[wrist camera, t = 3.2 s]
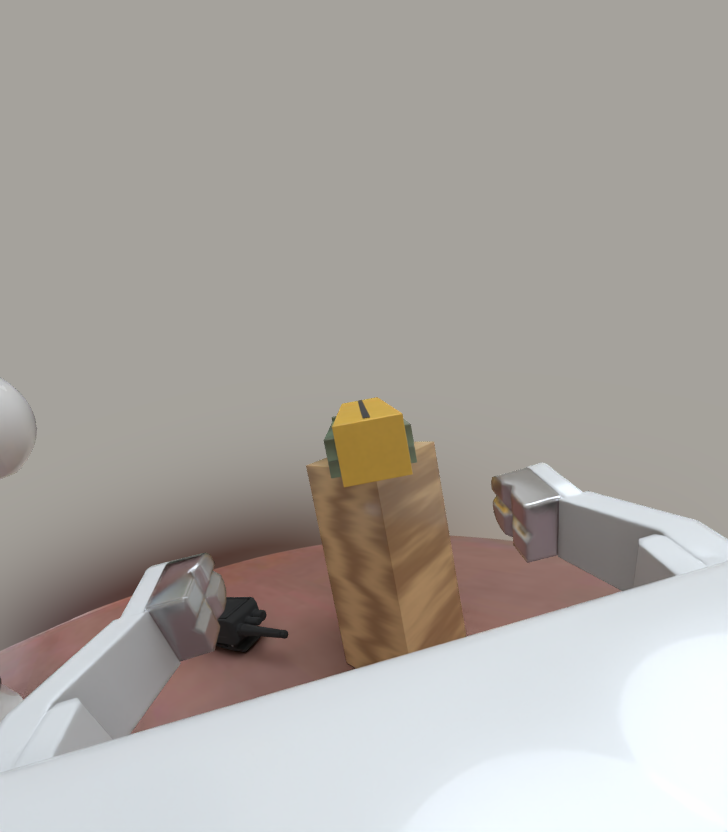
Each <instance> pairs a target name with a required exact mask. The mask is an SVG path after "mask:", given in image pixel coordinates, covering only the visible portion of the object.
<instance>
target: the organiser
mask: <svg viewBox="0 0 728 832" xmlns="http://www.w3.org/2000/svg"><path fill="white" fill-rule="evenodd" d="M336 417H337V416H335V417H332V424H331V426H330V428H329V431H328V433H327V435H326V437H325V439H324V444H325V449H326V454H327V458H325V459H322V460H320V461H317V462H314V463H312V464H309V465H307V466H306V467H307V472H308V477H309V482H310V486H311V491H312V496H313V501H314V506H315V511H316V516H317V521H318V526H319V531H320V535H321V540H322V545H323V550H324V555H325V560H326V565H327V569H328V574H329V579H330V584H331V589H332V594H333V599H334V604H335V608H336V613H337V618H338V623H339V628H340V633H341V638H342V642H343V647H344V652H345V657H346V662H347V663H348V664H350V665H351V666H353V667H355V668H356V669H357V668H360V667H364V666H367V665H371V664H374V663H378V662H381V661H384V660H388V659H391V658H395V657H398V656H402V655H405V654H408V653H412V652H415V651H419V650H422V649H426V648H429V647H433V646H436V645H439V644H443V643H446V642H450V641H453V640H457V639H460V638H464V637H466V631H465V625H464V619H463V613H462V607H461V601H460V595H459V589H458V583H457V577H456V571H455V565H454V559H453V553H452V547H451V541H450V535H449V530H448V523H447V518H446V512H445V506H444V499H443V493H442V488H441V482H440V475H439V469H438V463H437V458H436V452H435V445H434V442H414V440H413V435H412V429H411V424H410V423H409V422H407V421H406V420H404V419H403V420H404V426H405V432H406V437H407V443H408V449H409V454H410V460H411V466H412V472H413V474H412V475H407V476H402V477H397V478H392V479H386V480H381V481H376V482H371V483H365V484H360V485H355V486H350V487H344V486H343V481H342V476H341V471H340V466H339V461H338V456H337V451H336V446H335V440H334V435H333V430H332V426H333V423H334V421H335V419H336Z"/></svg>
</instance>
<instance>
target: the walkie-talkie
mask: <svg viewBox="0 0 728 832" xmlns="http://www.w3.org/2000/svg"><path fill="white" fill-rule="evenodd" d="M265 618H266V612H265V611H264V610H259V609H258V606H257V603H256V601H255V600H254V598H252V597H235V598H234V597H226V605H225V610H224V612H223V613H222V614H221V616H220V617H219V618H218V619H217V621H218V623H219V625H220V630H219V634H218V638H217V642H216V646H218V647H222V648H226V649H229V650H235V651H241V652H245V651H247V650H248V649H249V648H250V647H251V646H252V645H253V644H254V643H255V642H256V641H257V640H258V639H259V638H260V637H261V636H264V637H275V638H287V637H288V632H287V631H286V630H279V629H273V628H266V627H260V626H256V625H260V624H261V622H262V621H263V620H265Z"/></svg>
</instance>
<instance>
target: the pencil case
mask: <svg viewBox="0 0 728 832" xmlns="http://www.w3.org/2000/svg"><path fill="white" fill-rule="evenodd" d="M332 430H333V435H334V440H335V446H336V451H337V456H338V461H339V466H340V471H341V476H342V481H343V486H344V487H350V486H355V485H360V484H365V483H371V482H376V481H381V480H386V479H392V478H397V477H402V476H407V475H412V474H413V472H412V466H411V460H410V454H409V449H408V443H407V437H406V432H405V426H404V420H403V414H402V413H401V412H399V411H397V410H396V409H394V408H393V407H391V406H390V405H388V404H387V403H385V402H384V401H382V400H381V399H379V398H377V397H376V398H371V399H366V400H360V401H355V402H350V403H344V404H342V405H341V407H340V410H339V412H338V414H337V417H336V419H335V421H334V423H333V426H332Z"/></svg>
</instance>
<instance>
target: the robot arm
mask: <svg viewBox="0 0 728 832" xmlns="http://www.w3.org/2000/svg"><path fill="white" fill-rule="evenodd" d="M36 430H37V428H36V421H35V417H34V414H33V411H32V409H31V407H30V405H29V404H28V402H27V401H26V399H25V398H24V397H23V396H22V394H21V393H20V392H19V391H18V390H17V389H16V388H14V387H13V386H12V385H11V384H10V383H8V382H7V381H5V380H4V379H2V378H0V479H3V478H5V477H8V476H10V475H13V474H15V473H17V472H18V471H19V470H20V469H21V467H22V466H23V465H24V464H25V462H26V461H27V459H28V458H29V456H30V454H31V452H32V450H33V447H34V444H35V440H36ZM491 485H492V490H493V491H494V492H495V494H496V497H495V499H494V501H493V509H494V513H495V517H496V520H497V522H498V524H499V525H500V528H501V529H502V530H503V532H504V533H505V534H506V535H509V536H512V537H513V544H514V546H515V548H516V549H517V550H518V551H519V553H520V554H521V555H522V557H523V558H524V559H525V561H526V562H527V563H528V562H532V561H536V560H540V559H544V558H548V557H552V556H556V555H558V557H560V558H562V559H563V560H565V561H567V562H569V563H571V564H573V565H575V566H577V567H578V568H580V569H582V570H584V571H586V572H588V573H590V574H591V575H593V576H595V577H597V578H599V579H601V580H603V581H605V582H606V583H608V584H610V585H612V586H614V587H616V588H618V589H619V590H621V591H622V592H618V593H615V594H611V595H608V596H604V597H601V598H598V599H594V600H591V601H587V602H584V603H580V604H577V605H574V606H570V607H567V608H563V609H560V610H556V611H553V612H550V613H546V614H543V615H539V616H536V617H532V618H529V619H526V620H522V621H519V622H515V623H512V624H508V625H505V626H501V627H498V628H495V629H491V630H488V631H484V632H481V633H477V634H474V635H470V636H467V637H464V638H460V639H457V640H453V641H450V642H446V643H443V644H439V645H436V646H433V647H429V648H426V649H422V650H419V651H415V652H412V653H408V654H405V655H402V656H398V657H395V658H391V659H388V660H384V661H381V662H378V663H374V664H371V665H367V666H364V667H360V668H357V669H354V670H350V671H347V672H343V673H340V674H336V675H333V676H330V677H326V678H323V679H319V680H316V681H312V682H309V683H306V684H302V685H299V686H295V687H292V688H288V689H285V690H282V691H278V692H275V693H271V694H268V695H264V696H261V697H258V698H254V699H251V700H247V701H244V702H240V703H237V704H233V705H230V706H227V707H223V708H220V709H216V710H213V711H209V712H206V713H203V714H199V715H196V716H192V717H189V718H185V719H182V720H179V721H175V722H172V723H168V724H165V725H161V726H158V727H155V728H151V729H148V730H144V731H141V732H137V733H134V734H130V733H131V732H132V731H133V729H134V728H135V726H136V725H137V724H138V722H139V721H140V719H141V718H142V717H143V715H144V714H145V712H146V711H147V710H148V708H149V707H150V705H151V704H152V703H153V701H154V700H155V699H156V697H157V696H158V694H159V693H160V692H161V690H162V689H163V687H164V686H165V685H166V683H167V682H168V680H169V679H170V678H171V676H172V675H173V673H174V672H175V671H176V669H177V668H178V666H179V665H180V664H181V663H180V661H183V660H187V659H190V658H193V657H196V656H199V655H203V654H206V653H209V652H212V651H214V650H215V646H216V642H217V638H218V634H219V630H220V625H219V623H218V621H217V619H218V618H219V617H220V616H221V614H222V613H223V612H224V610H225V605H226V588H225V584H224V581H223V579H222V576H221V575H220V574H218V573H216V572H214V571H213V568H214V565H215V562H214V560H213V559H212V557H211V555H210V554H208V553H202V554H198V555H194V556H190V557H186V558H182V559H178V560H173V561H170V562H166V563H162V564H158V565H154V566H151V567H150V568H148V569H147V570H146V572H145V574H144V576H143V577H142V580H141V581H140V583H139V585H138V587H137V588H136V590H135V592H134V594H133V596H132V597H131V599H130V601H129V603H128V605H127V606H126V608H125V610H124V612H123V614H122V616H121V617H120V619H117V620H113V621H112V622H111V623H110V624H109V625H108V626H107V627H106V628H104V629H103V630H102V631H101V632H100V633H99V634H98V635H96V636H95V637H94V638H93V639H92V640H91V641H90V642H89V643H87V644H86V645H85V646H84V647H83V648H82V649H81V650H79V651H78V652H77V653H76V654H75V655H74V656H73V657H72V658H70V659H69V660H68V661H67V662H66V663H65V664H64V665H62V666H61V667H60V668H59V669H58V670H57V671H56V672H55V673H53V674H52V675H51V676H50V677H49V678H48V679H47V680H45V681H44V682H43V683H42V684H41V685H40V686H39V687H38V688H36V689H35V690H34V691H33V692H32V693H31V694H30V695H28V696H27V697H26V698H25V699H24V700H23V699H22V697H21V696H20V695H19V694H18V693H16V692H15V691H13V690H11V689H10V688H8V687H7V686H5V685H3V684H2V683H1V678H0V832H728V539H726V538H725V537H723V536H722V535H720V534H718V533H717V532H715V531H714V530H712V529H711V528H709V527H707V526H706V525H704V524H703V523H701V522H699V521H697V520H693V519H690V518H686V517H682V516H679V515H675V514H671V513H667V512H664V511H660V510H656V509H653V508H649V507H645V506H642V505H638V504H634V503H630V502H627V501H623V500H619V499H616V498H611V497H608V496H604V495H600V494H597V493H593V492H590V491H587V492H584V493H583V492H582V491H580V490H579V489H578V488H577V487H575V486H574V485H573V484H572V483H570V482H569V481H568V480H566V479H565V478H564V477H562V476H561V475H560V474H559V473H557V472H556V471H555V470H554V469H552V468H551V467H550V466H549V465H547V464H546V463H539V464H536V465H532V466H528V467H526V468H524V469H520V470H516V471H513V472H509V473H505V474H502V475H498V476H494V477H492V481H491Z"/></svg>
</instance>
